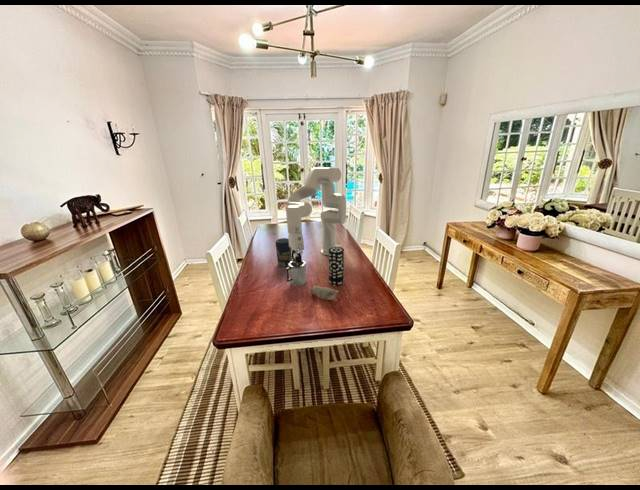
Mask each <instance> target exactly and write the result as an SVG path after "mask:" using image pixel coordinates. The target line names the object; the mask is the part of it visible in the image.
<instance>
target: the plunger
mask: <svg viewBox="0 0 640 490" xmlns="http://www.w3.org/2000/svg"><path fill="white" fill-rule="evenodd" d="M299 252H300V251H299ZM299 252H298V253H299ZM293 256H294V259H292V262H293V263H296V252H295V253H293ZM299 263H301V262H299ZM296 266H297V267H298V263H296Z"/></svg>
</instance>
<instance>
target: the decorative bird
mask: <svg viewBox="0 0 640 490" xmlns="http://www.w3.org/2000/svg"><path fill="white" fill-rule="evenodd" d="M339 292H340V290H338V289H334V288H330V287H326V286H319V285H314V286H313V287H312V289H311V294H312V295H313V296H314V295H317V296H318V297H319V298H320V299H322V300H328V301H331V300H332V301H333V302H334V305H336V304H338V302H339V301H340V299H341V297H338V296H337V294H338V293H339ZM335 298H336V299H337V300H334V299H335Z"/></svg>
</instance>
